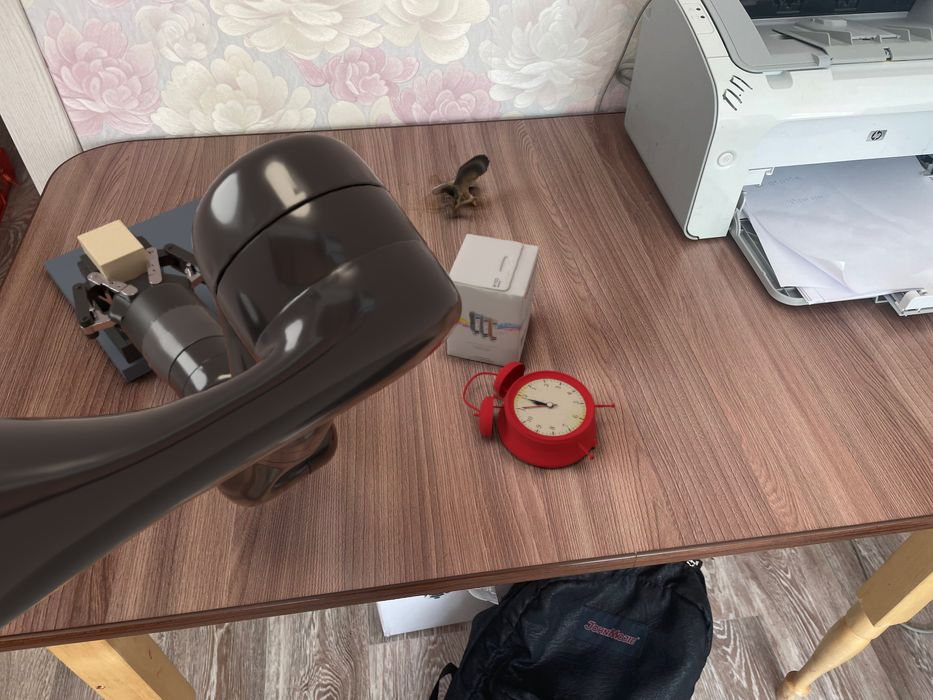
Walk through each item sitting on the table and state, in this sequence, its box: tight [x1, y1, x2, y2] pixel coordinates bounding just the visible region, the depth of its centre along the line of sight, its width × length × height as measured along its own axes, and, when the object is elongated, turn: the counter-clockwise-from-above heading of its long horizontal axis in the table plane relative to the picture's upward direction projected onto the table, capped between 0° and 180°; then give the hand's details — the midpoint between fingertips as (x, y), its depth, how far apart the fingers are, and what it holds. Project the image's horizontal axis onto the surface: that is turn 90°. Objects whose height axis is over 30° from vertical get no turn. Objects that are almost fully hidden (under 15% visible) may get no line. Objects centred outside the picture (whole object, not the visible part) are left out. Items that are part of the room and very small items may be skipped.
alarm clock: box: [462, 361, 616, 468], centre depth 74 cm, size 10×6×15 cm
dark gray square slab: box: [42, 196, 220, 383], centre depth 87 cm, size 24×23×4 cm
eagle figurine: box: [431, 153, 491, 218], centre depth 99 cm, size 8×7×9 cm
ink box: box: [446, 233, 540, 367], centre depth 79 cm, size 9×9×12 cm
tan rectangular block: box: [77, 219, 149, 282], centre depth 76 cm, size 4×6×9 cm
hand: (109, 251), depth 76 cm, fingers closed on tan rectangular block, 4 cm apart
